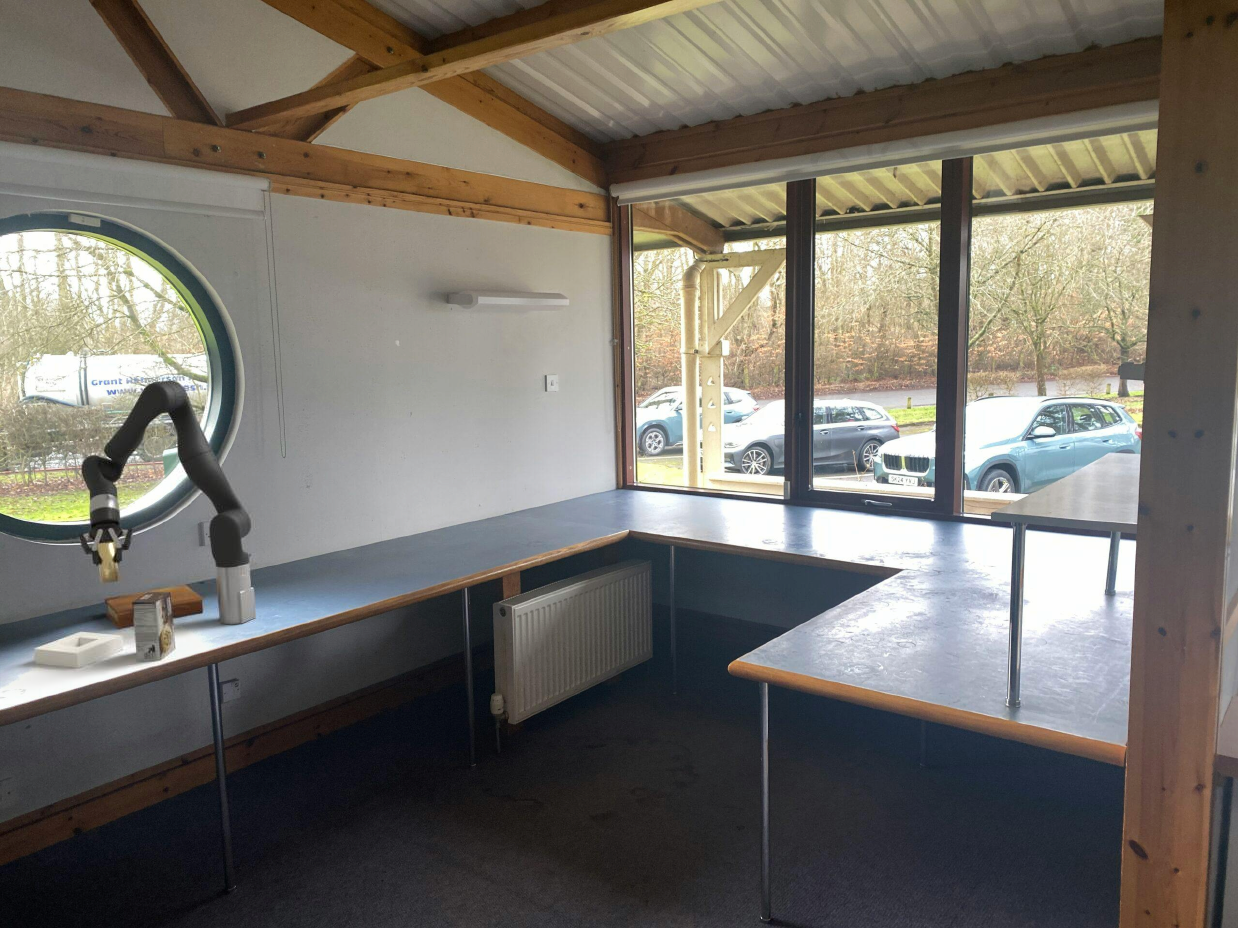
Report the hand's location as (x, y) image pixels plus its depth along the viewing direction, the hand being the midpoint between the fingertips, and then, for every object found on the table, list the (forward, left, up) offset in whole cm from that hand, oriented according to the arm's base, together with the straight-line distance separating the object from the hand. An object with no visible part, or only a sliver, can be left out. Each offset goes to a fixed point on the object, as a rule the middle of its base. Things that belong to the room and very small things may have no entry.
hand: (107, 562), depth 242 cm
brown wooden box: (+6, -21, -22) cm, 32 cm away
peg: (+1, -1, -6) cm, 6 cm away
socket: (-4, +15, -22) cm, 26 cm away
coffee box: (-23, +9, -22) cm, 33 cm away
